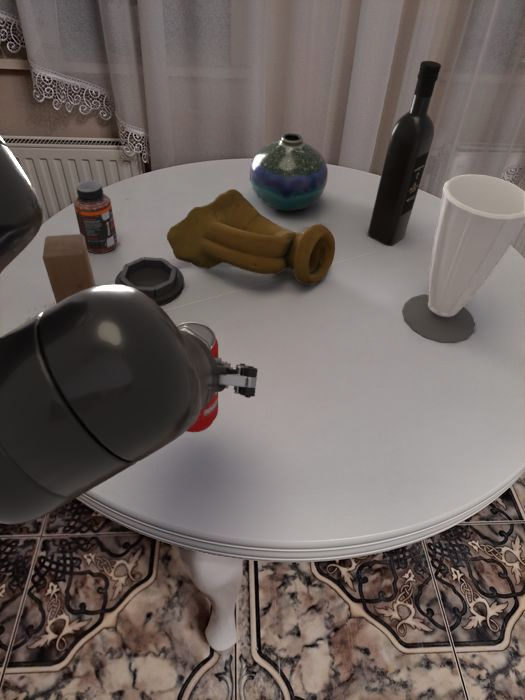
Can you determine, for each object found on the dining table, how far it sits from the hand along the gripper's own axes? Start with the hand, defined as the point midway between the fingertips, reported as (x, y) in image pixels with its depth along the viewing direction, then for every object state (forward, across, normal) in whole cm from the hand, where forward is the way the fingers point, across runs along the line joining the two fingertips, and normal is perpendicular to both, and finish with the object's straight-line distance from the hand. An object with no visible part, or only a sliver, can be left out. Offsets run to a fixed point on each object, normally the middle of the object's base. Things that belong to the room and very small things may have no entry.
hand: (195, 369), depth 54 cm
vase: (+51, -7, -33) cm, 61 cm away
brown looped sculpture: (+35, -2, -17) cm, 38 cm away
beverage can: (+3, 0, +5) cm, 6 cm away
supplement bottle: (+36, +25, -18) cm, 47 cm away
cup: (+28, -34, -11) cm, 45 cm away
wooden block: (+16, +17, +2) cm, 24 cm away
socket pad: (+29, +13, -11) cm, 34 cm away
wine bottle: (+45, -27, -27) cm, 59 cm away
